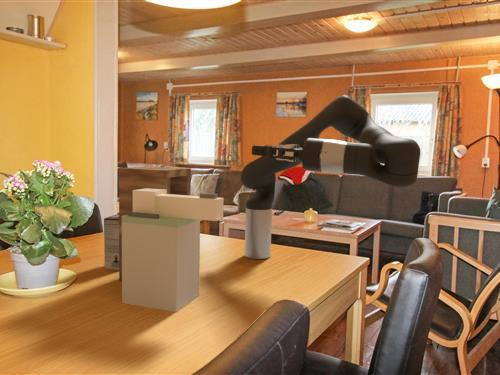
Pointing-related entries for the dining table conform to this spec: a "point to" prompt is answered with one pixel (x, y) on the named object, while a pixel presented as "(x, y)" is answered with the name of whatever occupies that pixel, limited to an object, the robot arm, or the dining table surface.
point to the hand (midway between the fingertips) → (258, 149)
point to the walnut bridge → (152, 178)
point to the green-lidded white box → (160, 260)
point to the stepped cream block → (178, 204)
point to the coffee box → (111, 242)
